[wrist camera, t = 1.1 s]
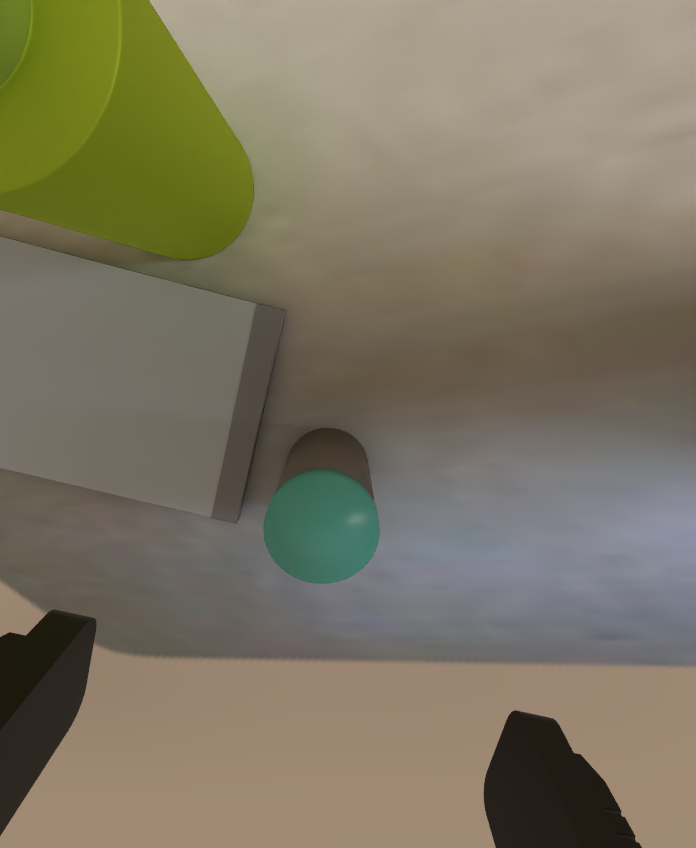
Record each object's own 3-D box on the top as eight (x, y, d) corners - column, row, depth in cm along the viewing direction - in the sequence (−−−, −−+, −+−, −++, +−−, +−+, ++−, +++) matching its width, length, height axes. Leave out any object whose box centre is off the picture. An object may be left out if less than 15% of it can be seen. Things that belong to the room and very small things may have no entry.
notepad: (285, 311, 23) (284, 311, 22) (239, 518, 25) (236, 523, 24) (-15, 232, 22) (-26, 230, 21) (-37, 453, 24) (-47, 457, 23)
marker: (378, 438, 24) (393, 491, 17) (357, 515, 25) (363, 594, 18) (296, 418, 24) (277, 463, 17) (277, 496, 24) (252, 569, 18)
